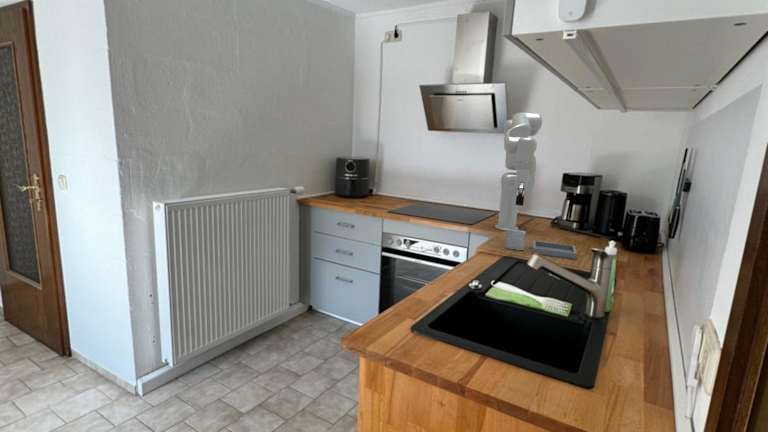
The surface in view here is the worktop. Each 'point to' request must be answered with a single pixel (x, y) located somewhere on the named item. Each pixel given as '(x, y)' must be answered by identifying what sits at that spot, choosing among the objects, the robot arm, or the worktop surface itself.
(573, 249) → the tray
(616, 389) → the worktop surface
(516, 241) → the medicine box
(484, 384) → the worktop surface
